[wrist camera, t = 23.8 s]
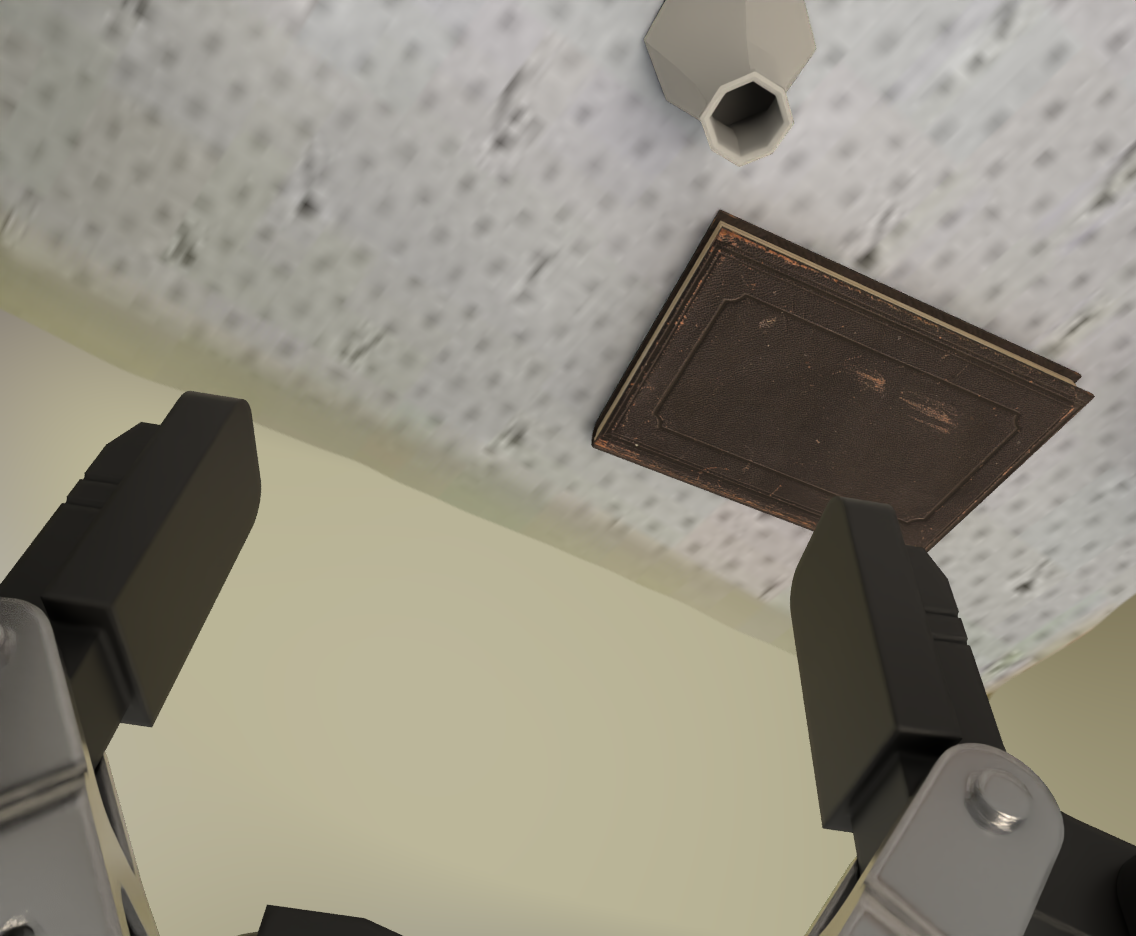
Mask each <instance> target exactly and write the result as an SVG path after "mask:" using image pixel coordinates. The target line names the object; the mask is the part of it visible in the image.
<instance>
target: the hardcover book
mask: <svg viewBox="0 0 1136 936" xmlns="http://www.w3.org/2000/svg"><path fill="white" fill-rule="evenodd" d="M1081 377H1082V376H1081V375H1080V374H1079V373H1077V372H1074V371H1072V370H1070V369H1068V368H1066V367H1063V366H1061V365H1059V364H1057V363H1055V362H1053V361H1050V360H1048V359H1046V358H1044V357H1042V356H1039V355H1037V354H1035V353H1033V352H1031V351H1028V350H1026V349H1024V348H1022V347H1020V346H1018V345H1015V344H1013V343H1011V342H1009V341H1007V340H1004V339H1002V338H1000V337H998V336H996V335H993V334H991V333H989V332H987V331H985V330H983V329H980V328H978V327H976V326H974V325H972V324H969V323H967V322H965V321H963V320H961V319H958V318H956V317H954V316H952V315H950V314H948V313H945V312H943V311H941V310H939V309H937V308H934V307H932V306H930V305H928V304H926V303H923V302H921V301H919V300H917V299H915V298H913V297H910V296H908V295H906V294H904V293H902V292H899V291H897V290H895V289H893V288H891V287H888V286H886V285H884V284H882V283H880V282H878V281H875V280H873V279H871V278H869V277H867V276H864V275H862V274H860V273H858V272H856V271H853V270H851V269H849V268H847V267H845V266H843V265H840V264H838V263H836V262H834V261H832V260H829V259H827V258H825V257H823V256H821V255H818V254H816V253H814V252H812V251H810V250H808V249H805V248H803V247H801V246H799V245H797V244H794V243H792V242H790V241H788V240H786V239H783V238H781V237H779V236H777V235H775V234H773V233H770V232H768V231H766V230H764V229H762V228H759V227H757V226H755V225H753V224H751V223H748V222H746V221H744V220H742V219H740V218H738V217H735V216H733V215H731V214H729V213H727V212H724V211H722V210H719V212H718V214H717V215H716V217H715V219H714V220H713V222H712V224H711V226H710V227H709V229H708V231H707V233H706V234H705V236H704V238H703V239H702V241H701V243H700V245H699V246H698V248H697V250H696V251H695V253H694V255H693V257H692V258H691V260H690V262H689V263H688V265H687V267H686V269H685V270H684V272H683V274H682V276H681V277H680V279H679V281H678V282H677V284H676V286H675V288H674V289H673V291H672V293H671V294H670V296H669V298H668V300H667V301H666V303H665V305H664V306H663V308H662V310H661V312H660V313H659V315H658V317H657V319H656V320H655V322H654V324H653V325H652V327H651V329H650V331H649V332H648V334H647V336H646V337H645V339H644V341H643V343H642V344H641V346H640V348H639V349H638V351H637V353H636V355H635V356H634V358H633V360H632V361H631V363H630V365H629V367H628V368H627V370H626V372H625V374H624V375H623V377H622V379H621V380H620V382H619V384H618V386H617V387H616V389H615V391H614V392H613V394H612V396H611V398H610V399H609V401H608V403H607V404H606V406H605V408H604V410H603V411H602V413H601V415H600V417H599V418H598V420H597V422H596V424H595V427H594V430H593V434H592V444H591V445H592V447H593V448H596V449H598V450H601V451H604V452H606V453H609V454H612V455H614V456H617V457H619V458H622V459H625V460H627V461H630V462H633V463H635V464H638V465H640V466H643V467H646V468H648V469H651V470H654V471H656V472H659V473H662V474H664V475H667V476H669V477H672V478H675V479H677V480H680V481H683V482H685V483H688V484H690V485H693V486H696V487H698V488H701V489H704V490H706V491H709V492H712V493H714V494H717V495H719V496H722V497H725V498H727V499H730V500H733V501H735V502H738V503H740V504H743V505H746V506H748V507H751V508H754V509H756V510H759V511H761V512H764V513H767V514H769V515H772V516H775V517H777V518H780V519H783V520H785V521H788V522H790V523H793V524H796V525H798V526H801V527H804V528H806V529H809V530H811V531H814V530H815V528H816V526H817V524H818V522H819V520H820V518H821V516H822V514H823V512H824V510H825V507H826V506H827V504H828V502H829V501H830V500H831V499H832V498H833V497H835V496H840V497H846V498H853V499H859V500H865V501H872V502H878V503H884V504H889V505H891V506H892V507H893V509H894V510H895V513H896V516H897V519H898V522H899V526H900V529H901V532H902V536H903V539H904V542H905V545H910V546H916V547H923V548H924V549H925V551H926V552H928V551H929V550H930V549H931V548H933V547H934V546H935V545H936V544H937V543H938V542H939V541H940V540H941V539H942V538H943V537H944V536H945V535H947V534H948V533H949V532H950V531H951V530H952V529H953V528H954V527H955V526H956V525H957V524H958V523H959V522H961V521H962V520H963V519H964V518H965V517H966V516H967V515H968V514H969V513H970V512H971V511H972V510H973V509H975V508H976V507H977V506H978V505H979V504H980V503H981V502H982V501H983V500H984V499H985V498H986V497H987V496H989V495H990V494H991V493H992V492H993V491H994V490H995V489H996V488H997V487H998V486H999V485H1000V484H1002V483H1003V482H1004V481H1005V480H1006V479H1007V478H1008V477H1009V476H1010V475H1011V474H1012V473H1013V472H1014V471H1016V470H1017V469H1018V468H1019V467H1020V466H1021V465H1022V464H1023V463H1024V462H1025V461H1026V460H1027V459H1028V458H1030V457H1031V456H1032V455H1033V454H1034V453H1035V452H1036V451H1037V450H1038V449H1039V448H1040V447H1041V446H1042V445H1044V444H1045V443H1046V442H1047V441H1048V440H1049V439H1050V438H1051V437H1052V436H1053V435H1054V434H1055V433H1056V432H1058V431H1059V430H1060V429H1061V428H1062V427H1063V426H1064V425H1065V424H1066V423H1067V422H1068V421H1069V420H1070V419H1072V418H1073V417H1074V416H1075V415H1076V414H1077V413H1078V412H1079V411H1080V410H1081V409H1082V408H1083V407H1084V406H1086V405H1087V404H1088V403H1089V402H1090V401H1091V400H1092V399H1093V398H1094V397H1095V396H1094V395H1093V394H1092V393H1090V392H1087V391H1085V390H1083V389H1081V388H1079V387H1077V386H1076V384H1075V383H1076V382H1077V381H1078V380H1079V379H1080V378H1081Z"/></svg>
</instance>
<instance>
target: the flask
mask: <svg viewBox="0 0 1136 936" xmlns="http://www.w3.org/2000/svg"><path fill="white" fill-rule="evenodd" d="M644 42H645V44H646V47H647V50H648V52H649V55H650V58H651V60H652V63H653V66H654V69H655V71H656V74H657V77H658V79H659V82H660V85H661V87H662V90H663V93H664V95H665V98H666V100H667V101H668V102H670V103H672V104H673V105H675V106H677V107H678V108H680V109H682V110H683V111H685V112H686V113H688V114H690V115H691V116H693V117H695V118H696V119H698V120H700V121H701V123H702V126H703V128H704V131H705V134H706V137H707V140H708V143H709V146H710V148H711V150H712V151H713V152H715V153H717V154H718V155H720V156H722V157H723V158H725V159H727V160H728V161H730V162H732V163H734V164H735V165H737V166H739V167H740V166H743V165H745V164H748V163H750V162H753V161H755V160H758V159H760V158H763V157H765V156H768V155H771V154H773V152H774V151H775V149H776V148H777V147H778V145H779V144H780V142H781V141H782V140H783V138H784V137H785V136H786V134H787V133H788V131H789V130H790V129H791V127H792V126H793V124H794V121H793V117H792V114H791V110H790V107H789V103H788V100H787V96H786V92H787V91H788V89H789V88H790V86H791V85H792V84H793V82H794V81H795V79H796V78H797V76H798V75H799V73H800V72H801V71H802V69H803V68H804V66H805V65H806V63H807V62H808V60H809V59H810V58H811V56H812V55H813V53H814V52H815V50H816V45H815V41H814V37H813V33H812V29H811V25H810V21H809V17H808V13H807V9H806V6H805V2H804V0H665V2H664V4H663V6H662V8H661V9H660V11H659V13H658V15H657V17H656V18H655V20H654V22H653V24H652V26H651V27H650V29H649V31H648V33H647V35H646V36H645V38H644Z"/></svg>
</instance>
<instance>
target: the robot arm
mask: <svg viewBox="0 0 1136 936" xmlns="http://www.w3.org/2000/svg"><path fill="white" fill-rule="evenodd" d="M260 496H261V479H260V471H259V464H258V457H257V450H256V443H255V435H254V428H253V420H252V413H251V409H250V406H249V404H248V402H247V401H246V400H244V399H238V398H232V397H225V396H219V395H213V394H207V393H200V392H194V391H187V392H185V393H184V394H183V395H181V397H180V398H179V399H178V401H177V402H176V403H175V405H174V406H173V408H172V409H171V411H170V412H169V413H168V415H167V416H166V418H165V419H164V421H163V422H162V423H161V425H157V424H150V423H144V422H141V423H139V424H137V425H136V426H134V427H133V428H131V429H130V430H128V431H127V432H125V433H123V434H122V435H120V436H119V437H117V438H116V439H114V440H113V441H111V442H110V443H108V444H106V446H105V447H104V448H103V450H102V451H101V452H100V454H99V455H98V456H97V458H96V459H95V460H94V461H93V463H92V464H91V465H90V467H89V468H88V469H87V471H86V472H85V477H84V479H80V480H79V481H78V483H77V484H76V485H75V487H74V488H73V489H72V491H71V492H70V493H69V495H68V496H67V501H66V503H62V504H61V505H60V506H59V508H58V509H57V510H56V512H55V513H54V514H53V516H52V517H51V518H50V520H49V521H48V522H47V523H46V525H45V526H44V527H43V529H42V530H41V531H40V533H39V534H38V535H37V537H36V538H35V539H34V541H33V542H32V543H31V545H30V546H29V547H28V549H27V550H26V551H25V552H24V554H23V555H22V556H21V558H20V559H19V560H18V562H17V563H16V564H15V566H14V567H13V568H12V570H11V571H10V572H9V574H8V575H7V576H6V578H5V579H4V580H3V581H2V583H1V584H0V936H160V935H159V932H158V929H157V926H156V923H155V920H154V917H153V915H152V912H151V909H150V906H149V903H148V900H147V898H146V894H145V891H144V888H143V885H142V881H141V878H140V875H139V871H138V867H137V863H136V860H135V856H134V852H133V849H132V845H131V841H130V838H129V834H128V831H127V827H126V823H125V820H124V816H123V813H122V809H121V805H120V802H119V798H118V794H117V790H116V787H115V783H114V780H113V776H112V772H111V769H110V765H109V761H108V758H107V755H106V753H105V750H106V748H107V746H108V744H109V743H110V741H111V739H112V737H113V735H114V733H115V731H116V729H117V728H118V726H119V724H120V723H126V724H132V725H139V726H147V727H152V726H153V724H154V722H155V720H156V718H157V716H158V714H159V712H160V710H161V708H162V706H163V704H164V702H165V700H166V698H167V696H168V695H169V692H170V691H171V689H172V687H173V684H174V683H175V680H176V679H177V677H178V675H179V672H180V671H181V669H182V667H183V665H184V662H185V661H186V658H187V656H188V655H189V652H190V651H191V649H192V646H193V645H194V642H195V641H196V639H197V637H198V634H199V633H200V631H201V628H202V627H203V625H204V623H205V620H206V618H207V617H208V615H209V613H210V611H211V609H212V607H213V605H214V603H215V600H216V599H217V597H218V595H219V593H220V591H221V588H222V586H223V584H224V583H225V581H226V579H227V577H228V575H229V573H230V571H231V569H232V567H233V565H234V563H235V561H236V559H237V557H238V555H239V553H240V551H241V549H242V547H243V545H244V543H245V541H246V539H247V537H248V535H249V533H250V531H251V529H252V527H253V524H254V522H255V519H256V516H257V513H258V508H259V503H260ZM790 610H791V618H792V624H793V631H794V638H795V645H796V651H797V658H798V664H799V671H800V678H801V685H802V692H803V699H804V705H805V712H806V719H807V725H808V732H809V739H810V745H811V752H812V759H813V766H814V773H815V780H816V786H817V793H818V800H819V807H820V813H821V820H822V827H823V828H824V829H831V830H838V831H844V832H852V833H853V835H854V840H855V846H856V852H857V856H856V858H855V859H854V860H853V861H852V862H851V864H850V865H849V867H848V868H847V870H846V871H845V873H844V875H843V876H842V877H841V879H840V881H839V882H838V884H837V886H836V887H835V888H834V890H833V891H832V893H831V895H830V896H829V898H828V899H827V901H826V902H825V904H824V906H823V907H822V909H821V910H820V912H819V913H818V915H817V917H816V918H815V920H814V921H813V923H812V924H811V926H810V928H809V929H808V931H807V932H806V934H805V935H804V936H1136V846H1135V845H1132V844H1130V843H1128V842H1125V841H1123V840H1121V839H1119V838H1117V837H1115V836H1112V835H1110V834H1108V833H1106V832H1103V831H1101V830H1099V829H1097V828H1095V827H1092V826H1090V825H1088V824H1086V823H1084V822H1081V821H1079V820H1077V819H1075V818H1073V817H1071V816H1069V815H1067V814H1065V813H1063V812H1062V811H1060V809H1059V806H1058V804H1057V802H1056V800H1055V798H1054V796H1053V795H1052V793H1051V792H1050V790H1049V789H1048V787H1047V786H1046V785H1045V784H1044V782H1043V781H1042V780H1041V779H1040V778H1039V776H1037V775H1036V774H1035V773H1034V772H1033V771H1032V770H1031V769H1030V768H1029V767H1028V766H1026V765H1025V764H1024V763H1023V762H1021V761H1020V760H1018V759H1017V758H1015V757H1014V756H1012V755H1010V754H1009V753H1007V752H1006V750H1005V747H1004V745H1003V742H1002V740H1001V736H1000V733H999V730H998V728H997V724H996V721H995V719H994V715H993V713H992V710H991V707H990V704H989V701H988V698H987V695H986V692H985V689H984V686H983V683H982V680H981V677H980V674H979V671H978V668H977V665H976V662H975V659H974V656H973V653H972V650H971V647H970V646H969V645H967V639H968V638H967V635H966V632H965V629H964V626H963V623H962V620H961V618H958V612H959V611H958V608H957V605H956V602H955V599H954V596H953V593H952V590H951V587H950V584H949V581H948V579H947V577H946V576H945V575H944V574H943V572H942V571H941V570H940V568H939V567H938V566H937V565H936V563H935V562H934V561H933V560H932V558H931V557H930V556H929V555H928V553H927V552H926V551H925V549H924V548H923V547H916V546H910V545H905V542H904V539H903V536H902V532H901V529H900V526H899V522H898V519H897V516H896V513H895V510H894V509H893V507H892V506H891V505H889V504H884V503H878V502H872V501H865V500H859V499H853V498H846V497H840V496H835V497H833V498H832V499H831V500H830V501H829V502H828V504H827V506H826V507H825V510H824V512H823V514H822V516H821V518H820V520H819V522H818V524H817V526H816V528H815V530H814V532H813V534H812V536H811V539H810V541H809V543H808V545H807V547H806V549H805V551H804V553H803V555H802V557H801V559H800V561H799V563H798V566H797V568H796V570H795V573H794V577H793V581H792V587H791V595H790ZM238 936H402V935H400V934H398V933H396V932H394V931H391V930H389V929H387V928H385V927H382V926H380V925H378V924H376V923H374V922H372V921H370V920H367V919H365V918H359V917H352V916H345V915H338V914H330V913H323V912H316V911H309V910H302V909H295V908H287V907H280V906H273V905H267V907H266V910H265V913H264V916H263V919H262V922H261V925H260V928H259V931H258V932H253V933H247V934H242V935H238Z"/></svg>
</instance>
